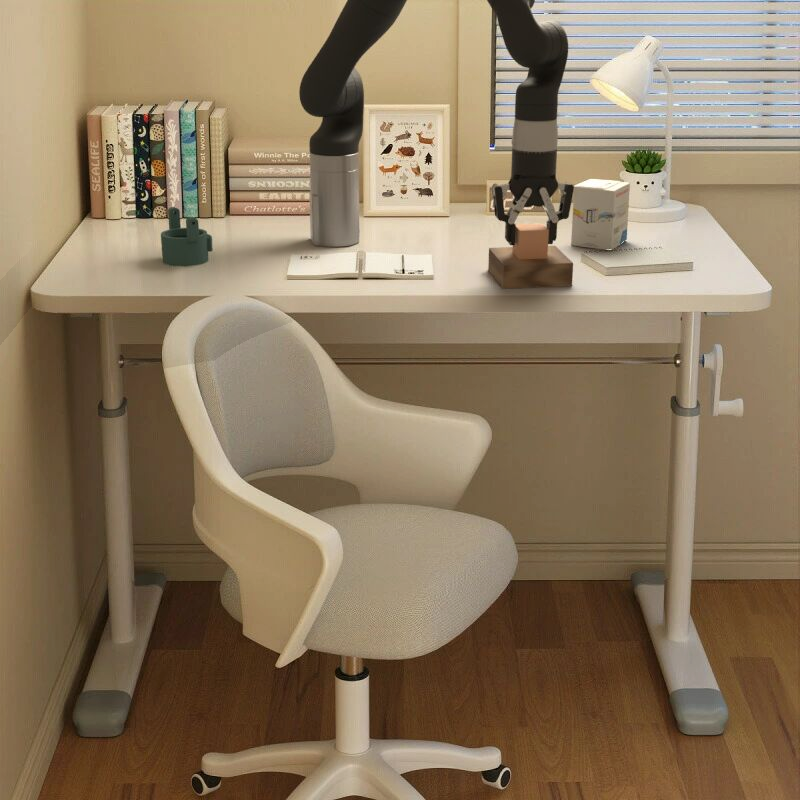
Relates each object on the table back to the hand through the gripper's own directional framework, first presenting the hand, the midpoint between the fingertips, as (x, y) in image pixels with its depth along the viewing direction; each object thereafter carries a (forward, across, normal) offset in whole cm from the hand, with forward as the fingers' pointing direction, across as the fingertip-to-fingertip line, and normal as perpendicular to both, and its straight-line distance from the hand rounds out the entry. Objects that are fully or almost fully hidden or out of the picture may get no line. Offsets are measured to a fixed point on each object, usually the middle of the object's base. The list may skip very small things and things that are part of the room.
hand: (530, 243), depth 216 cm
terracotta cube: (+2, 0, 0) cm, 2 cm away
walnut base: (+6, 0, 0) cm, 6 cm away
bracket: (+6, -59, +20) cm, 63 cm away
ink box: (+6, +19, +22) cm, 30 cm away
